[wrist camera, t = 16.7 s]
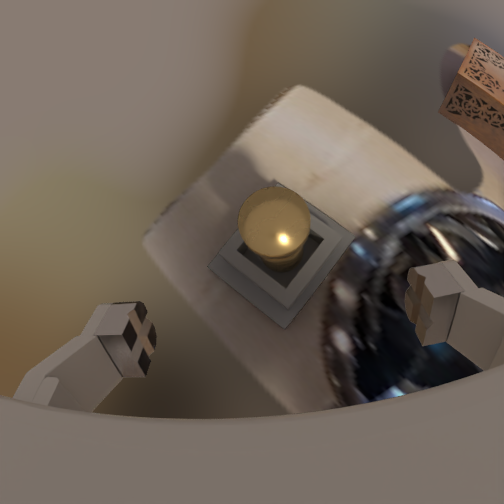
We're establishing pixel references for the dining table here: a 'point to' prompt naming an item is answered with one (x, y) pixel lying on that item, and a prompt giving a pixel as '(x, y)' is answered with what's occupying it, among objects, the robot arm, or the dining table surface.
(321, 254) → the socket block
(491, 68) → the tissue box cover
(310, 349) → the dining table surface
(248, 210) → the gold stepped cylinder
